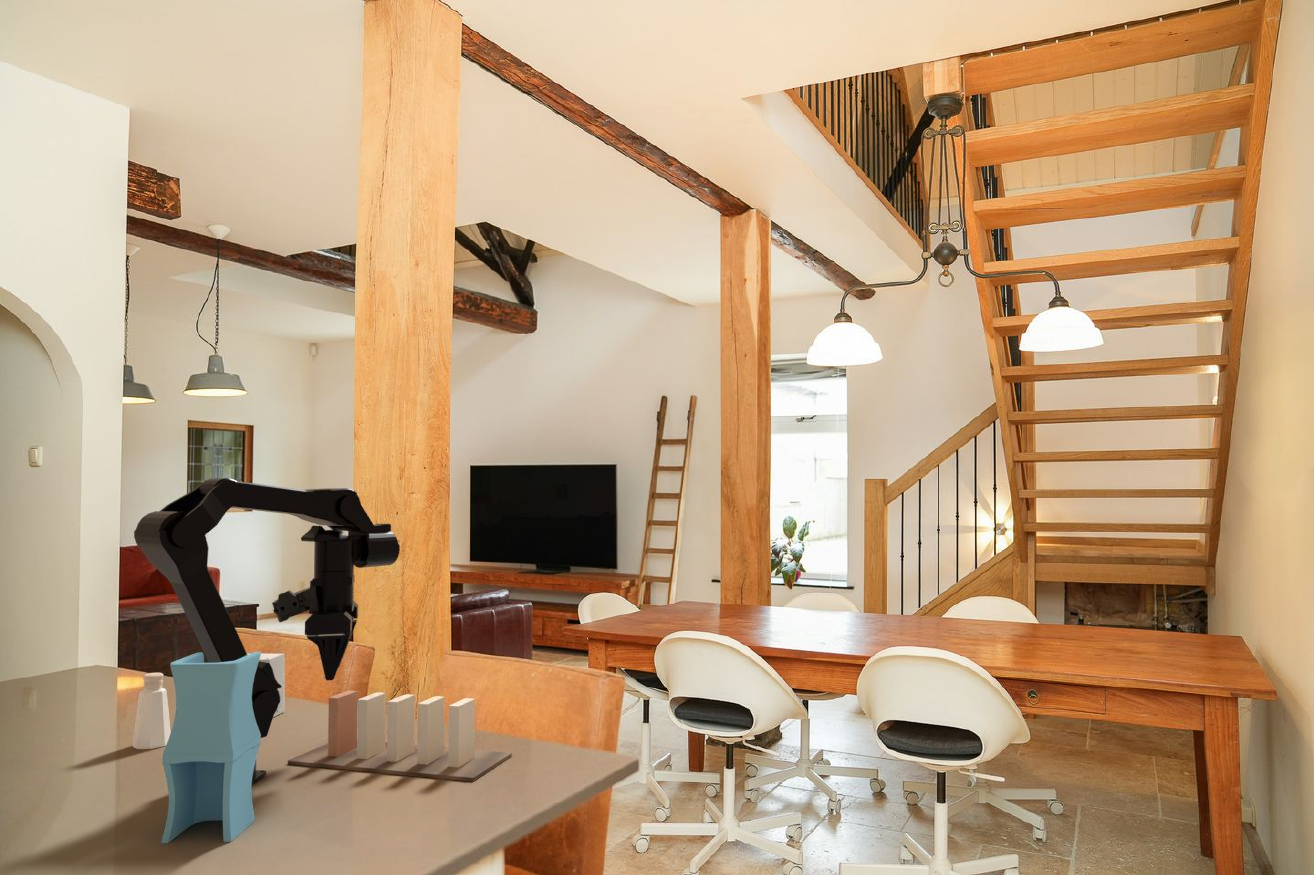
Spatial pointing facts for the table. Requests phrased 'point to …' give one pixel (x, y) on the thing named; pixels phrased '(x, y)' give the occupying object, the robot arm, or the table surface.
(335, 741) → the terracotta domino
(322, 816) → the table surface
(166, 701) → the pepper shaker
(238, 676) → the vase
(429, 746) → the domino
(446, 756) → the walnut board
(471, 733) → the domino
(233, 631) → the robot arm
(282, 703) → the small box
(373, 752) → the domino
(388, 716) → the domino
